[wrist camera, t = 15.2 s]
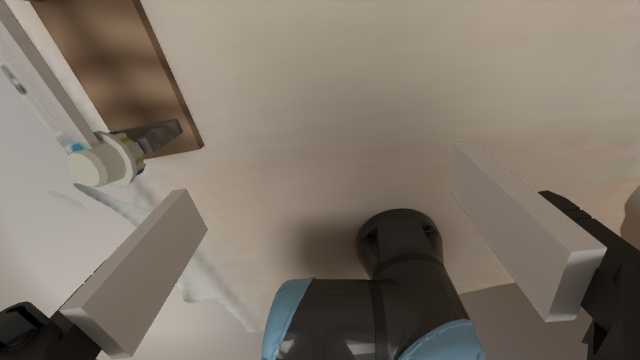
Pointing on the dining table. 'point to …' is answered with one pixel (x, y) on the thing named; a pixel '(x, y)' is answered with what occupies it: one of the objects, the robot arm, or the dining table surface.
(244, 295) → the dining table surface
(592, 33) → the dining table surface
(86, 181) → the grey handled tool
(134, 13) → the hook board
